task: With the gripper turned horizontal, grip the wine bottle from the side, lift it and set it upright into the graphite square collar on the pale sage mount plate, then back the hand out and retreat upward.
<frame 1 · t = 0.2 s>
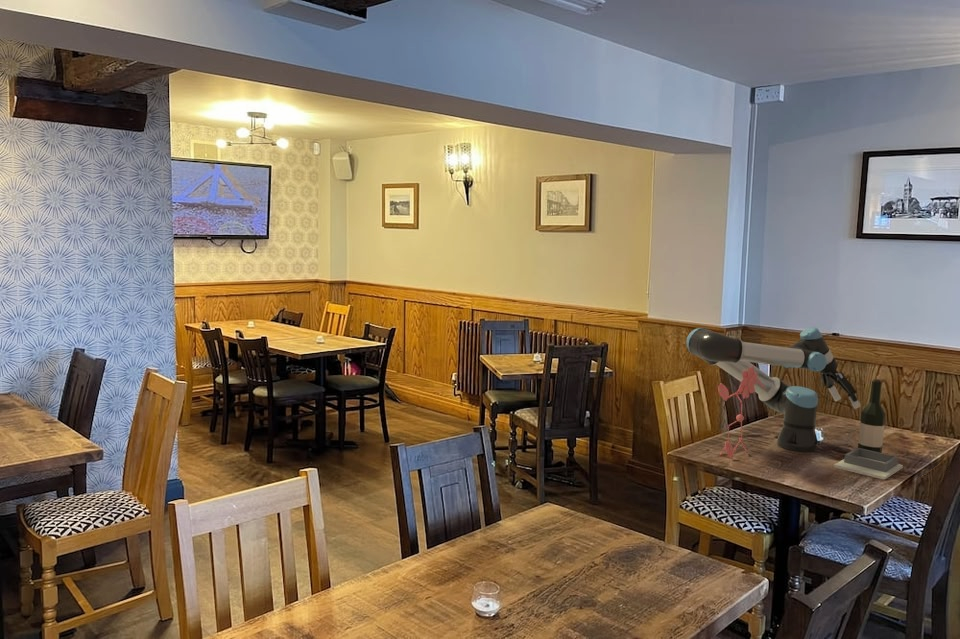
hand: (847, 403, 299), 15 cm above the table, tool tilted 35°, fingers open, 13 cm apart
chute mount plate: (870, 466, 263), on the table
wine bottle: (869, 455, 278), on the table
pink wire flower sculpture: (742, 458, 267), on the table
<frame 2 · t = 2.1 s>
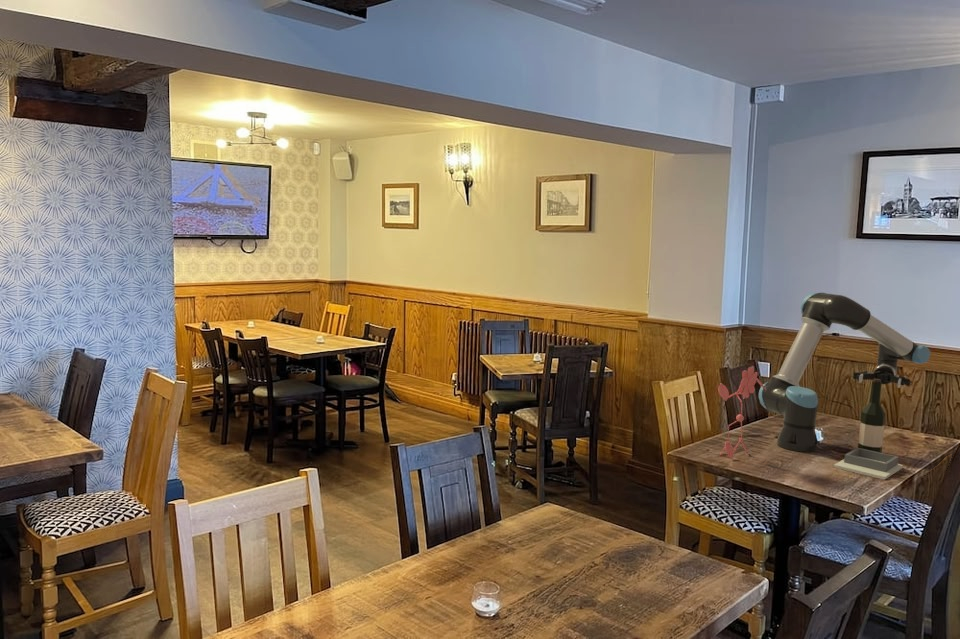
hand: (879, 381, 283), 27 cm above the table, tool horizontal, fingers open, 13 cm apart
nothing on the table moved.
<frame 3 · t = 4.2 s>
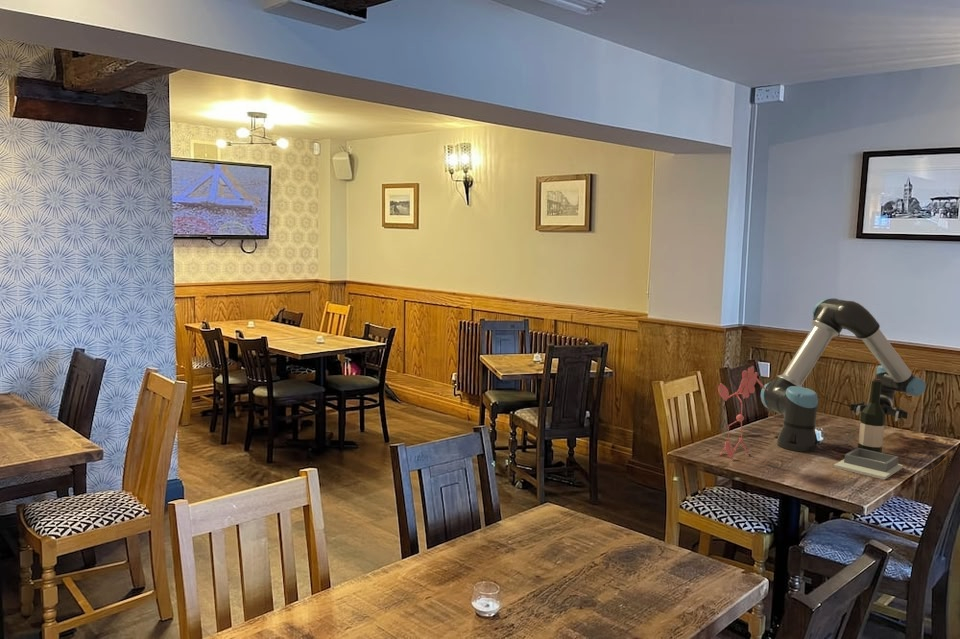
hand: (876, 414, 280), 15 cm above the table, tool horizontal, fingers open, 13 cm apart
nothing on the table moved.
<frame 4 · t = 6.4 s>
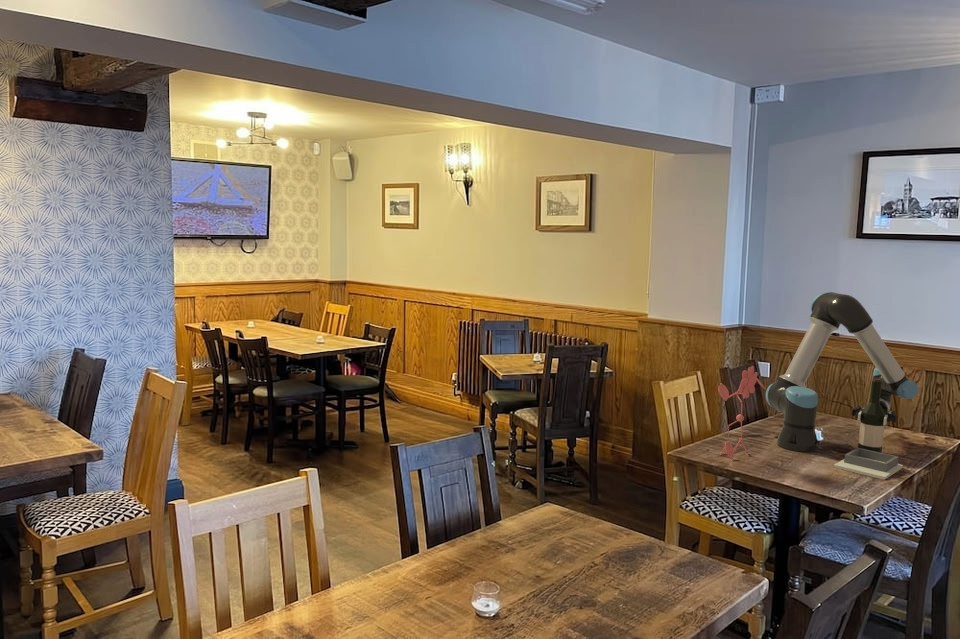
hand: (871, 419, 272), 15 cm above the table, tool horizontal, fingers closed on wine bottle, 8 cm apart
wine bottle: (869, 455, 278), on the table, touching gripper
everything else where it was.
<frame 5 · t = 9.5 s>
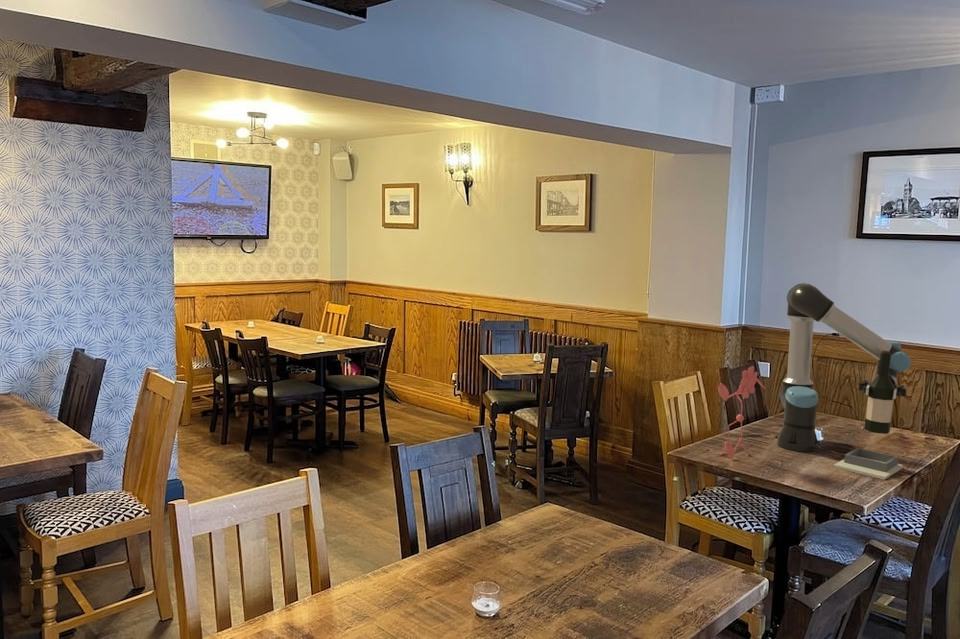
hand: (880, 393, 258), 28 cm above the table, tool horizontal, fingers closed on wine bottle, 8 cm apart
wine bottle: (876, 431, 264), point 13 cm above the table, touching gripper
everything else where it was.
when the fingers open (17 cm above the table, at t = 12.9 s): wine bottle stays where it is, resting on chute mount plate.
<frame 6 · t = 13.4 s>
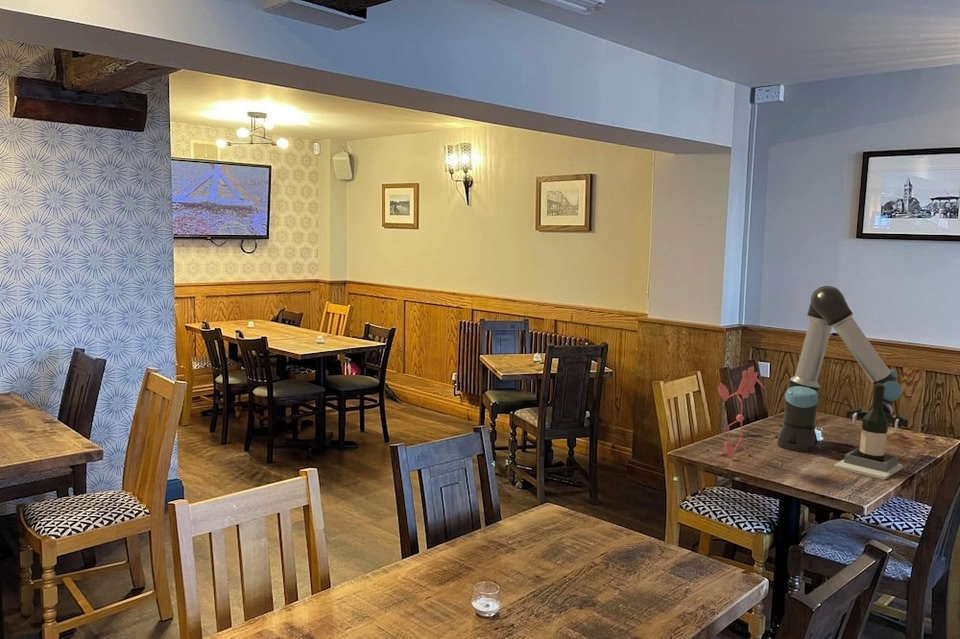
hand: (874, 423, 258), 17 cm above the table, tool horizontal, fingers open, 13 cm apart
wine bottle: (870, 463, 263), point 1 cm above the table, touching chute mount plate
everything else where it was.
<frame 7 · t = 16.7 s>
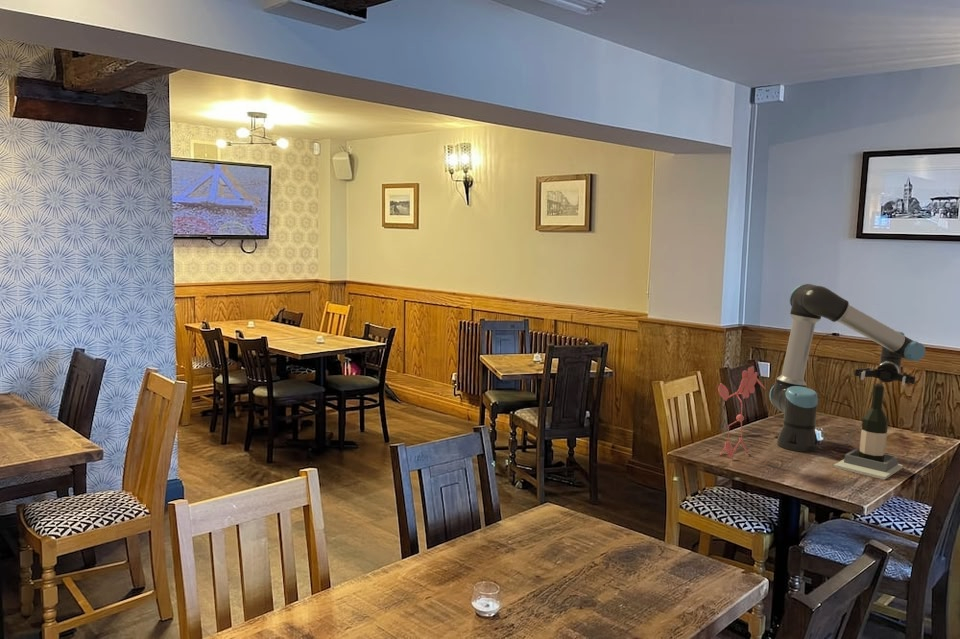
hand: (882, 379, 267), 31 cm above the table, tool horizontal, fingers open, 13 cm apart
nothing on the table moved.
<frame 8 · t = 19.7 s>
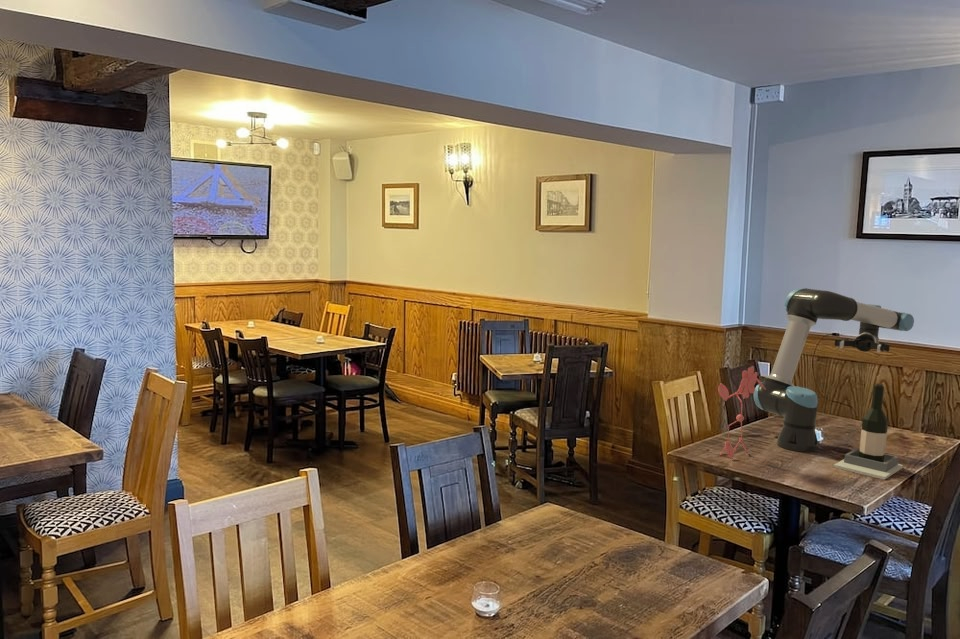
hand: (859, 347, 289), 40 cm above the table, tool horizontal, fingers open, 13 cm apart
nothing on the table moved.
at the end: wine bottle 0.0 cm off-centre on the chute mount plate, point 0.8 cm above the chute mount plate's base; wine bottle tilted 0°; the gripper is holding nothing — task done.
